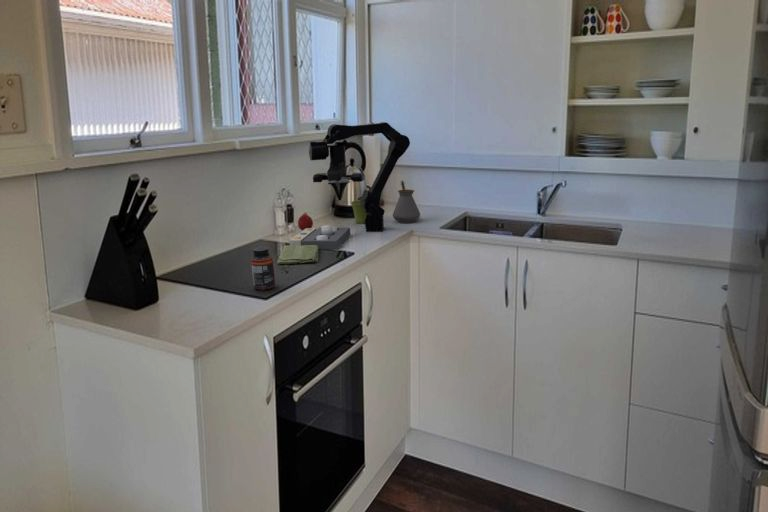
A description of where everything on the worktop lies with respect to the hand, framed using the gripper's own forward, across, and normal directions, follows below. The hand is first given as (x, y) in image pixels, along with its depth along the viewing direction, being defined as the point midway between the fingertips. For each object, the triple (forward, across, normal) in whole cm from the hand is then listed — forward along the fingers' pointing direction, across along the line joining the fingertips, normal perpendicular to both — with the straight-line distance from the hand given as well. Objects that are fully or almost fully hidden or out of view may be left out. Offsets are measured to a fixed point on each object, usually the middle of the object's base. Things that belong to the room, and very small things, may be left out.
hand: (340, 200), depth 227 cm
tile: (+13, -11, -14) cm, 22 cm away
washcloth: (+14, -6, -36) cm, 39 cm away
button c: (+13, -2, -21) cm, 25 cm away
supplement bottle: (+13, -6, -68) cm, 70 cm away
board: (+13, -2, -14) cm, 19 cm away
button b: (+11, -2, -14) cm, 18 cm away
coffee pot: (+13, +21, +28) cm, 37 cm away
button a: (+13, -2, -7) cm, 15 cm away
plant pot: (+13, +4, +21) cm, 25 cm away
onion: (+13, -15, +2) cm, 20 cm away
